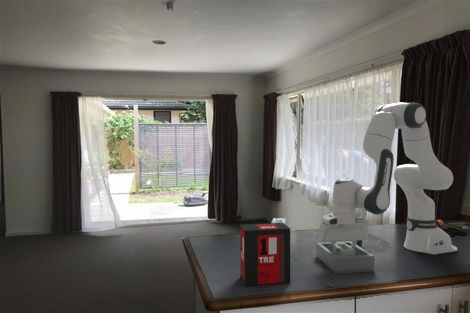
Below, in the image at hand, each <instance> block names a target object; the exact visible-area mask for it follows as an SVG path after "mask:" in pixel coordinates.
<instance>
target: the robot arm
mask: <svg viewBox="0 0 470 313" xmlns="http://www.w3.org/2000/svg"><path fill="white" fill-rule="evenodd" d="M426 119H427V110H426V108H425V107H424V106H423V105H422V104H421V103H419V102H397V103H386V104H382V105H380V106H378V107H377V108H376V110H375V112H374V115H372V117H371V119H370V121H369V124H368V125H367V128H366V132H365V135H364V138H363V143H362V149H363V151H364V152H365V154H366V155H367V157H369V158H370V159H371V160H373V161H374V163H375V166H376V169H375V175H374V184H373V186H372V187H370V186H367V185H363V184H360V183H358V182H356V181H355V180H354V179H353V178H350V177H349V178H348V177H345V178H344V177H343V178H339V179H336V181H334V184H333V189H332V202H333V206H332V212H331V213H328V214H326V215H323V216H322V217H321V220H320V221H321V222H322V223H320V225H319V232H318V238H319V240H320V241H321V243H326V242H331V244H332V246H333V251H334V252H338V248H337V247H336V246H335V244H336V242H345V241H352V244H351V246H350V247H351V248H353V249H354V247H355V245H356V244H357V240H363V241H366V240H367V241H368V239H369V229H368V225H369V221H368V219H367V218H365V217H362V216H361V217H356V209H360V210H363V211H366V212H369V213H370V214H373V215H376V216H378V215H382V214H384V213H385V212H386V211H387V210H388V209H389V207H390V204H391V184H392V176H393V180H394V182H395V183H396V184H397V185H398V186H399V187H400V188H401V189H402V191H403V193H404V195H405V197H406V200H407V201H406V202H407V217H406V228H407V229H406V235H405V241H404V244H403V247H404V248H405V249H407V250H410V251H413V252H419V253H425V254H430V255H438V254H445V253H446V254H447V253H453V252H458V251H459V250H458V247H457V246H455V245H453V244H452V238H451V236H450V235H449V234H448V233H447V232H446V231H444V230H443V229H441V227H439V225H440V226H442V225H443V224H444V221H443V220H441V219H437V218H436V216H435V215H436V204H435V201H434V200H433V199H432V198H431V197H429V196H428V195H427V194H426V193H425V191H424V190H431V191H432V190H433V191H442V190H448V189H449V188H450V187H452V186H451V185H453V181H454V175H453V172H452V170H450V168H448V167H447V166H445V165H444V164H443V163H442V162H440V161H439V159H438V158H437V156H436V155H435V152H434V149H433V146H432V141H431V136H430V128H429V126H428V122H427V120H426ZM396 129H397V130H399V129H400V130H401V138H402V143H403V145H402V146H403V150H404V151H403V152H404V154H405V156H406V157H407V158H408V159H410V160H412V161H413V162H414V163H415V164H414V163H405V164H401V165H398V166H397V167H396V168H395V169H394V171H393V168H394V160H395V159H394V158H395V156H394V154H393V151H392V144H393V141H394V137H395V132H396Z"/></svg>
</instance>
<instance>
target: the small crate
mask: <svg viewBox="0 0 470 313" xmlns="http://www.w3.org/2000/svg"><path fill="white" fill-rule="evenodd" d="M335 246H336V247H337V248H338V252H334V254H335V255H336V256H337V257H339V256H355V250H354V249H353V248H351V247H350V246H348V245H347V244H345V243H339V244H335Z"/></svg>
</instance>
